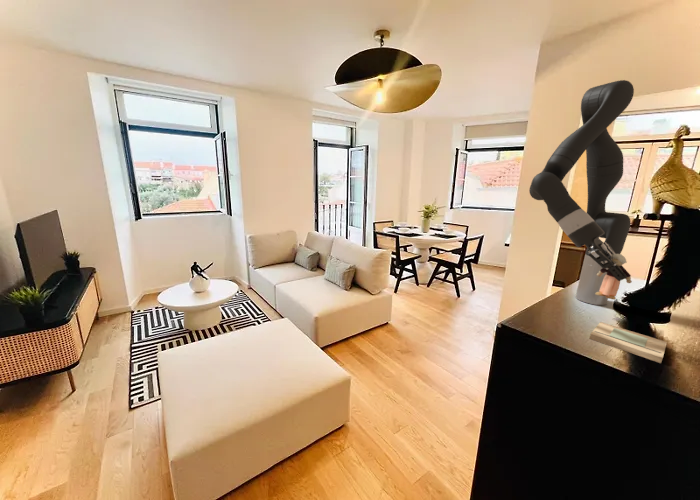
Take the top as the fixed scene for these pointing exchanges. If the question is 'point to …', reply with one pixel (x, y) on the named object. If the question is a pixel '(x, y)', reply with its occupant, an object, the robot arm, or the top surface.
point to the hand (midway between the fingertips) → (624, 277)
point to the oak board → (629, 341)
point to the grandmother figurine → (612, 279)
